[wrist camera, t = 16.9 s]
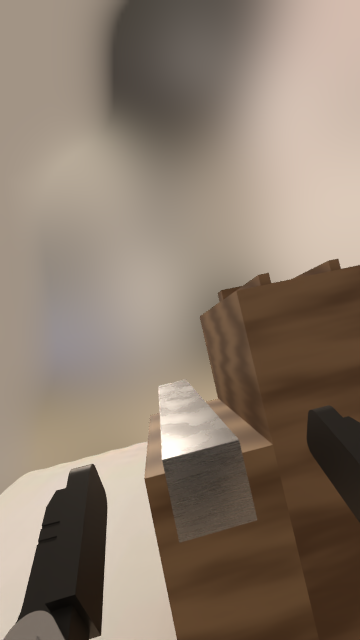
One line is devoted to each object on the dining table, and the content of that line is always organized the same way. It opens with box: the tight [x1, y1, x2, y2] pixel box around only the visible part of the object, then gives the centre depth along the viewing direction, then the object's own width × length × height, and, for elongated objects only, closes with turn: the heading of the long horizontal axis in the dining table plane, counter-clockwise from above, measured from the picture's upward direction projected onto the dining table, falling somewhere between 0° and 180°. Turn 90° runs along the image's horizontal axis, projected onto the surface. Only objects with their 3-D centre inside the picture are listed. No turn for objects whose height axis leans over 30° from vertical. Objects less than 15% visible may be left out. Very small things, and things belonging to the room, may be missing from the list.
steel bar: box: [158, 380, 257, 543], centre depth 25 cm, size 24×4×4 cm, turn 5°
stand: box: [144, 259, 360, 640], centre depth 29 cm, size 18×19×34 cm
